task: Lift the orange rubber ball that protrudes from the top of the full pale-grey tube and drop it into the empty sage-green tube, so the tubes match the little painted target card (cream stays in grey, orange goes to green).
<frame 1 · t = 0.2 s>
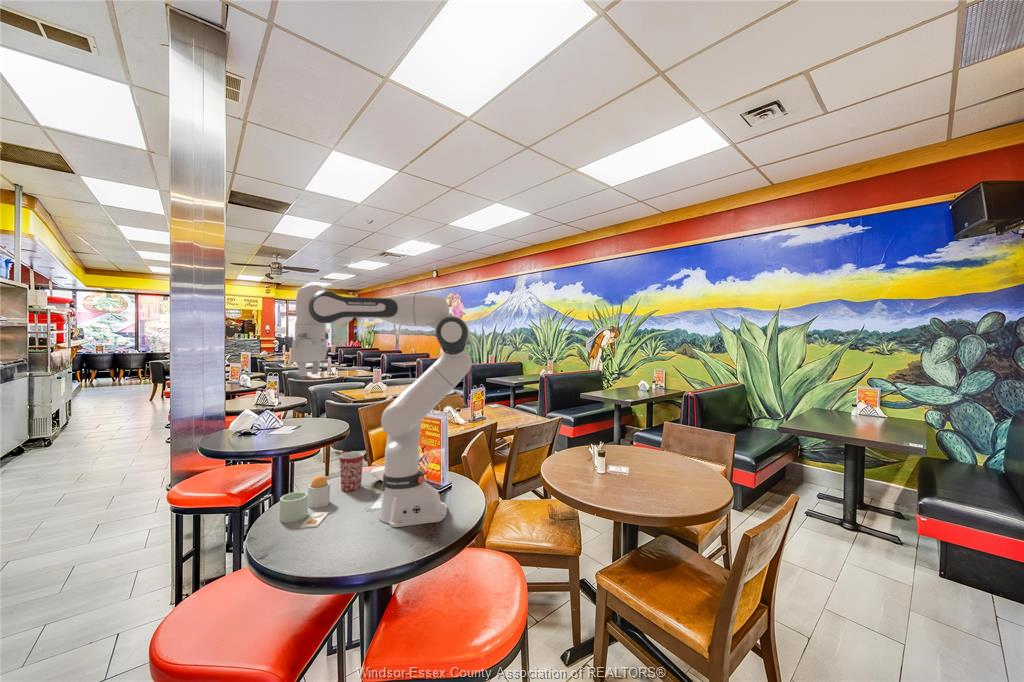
hand: (309, 375, 123), 47 cm above the table, fingers open, 8 cm apart
ball orange: (319, 490, 133), point 5 cm above the table, touching tube grey
tube green: (293, 517, 122), on the table
tube grey: (318, 503, 133), on the table
mug: (353, 487, 149), on the table
target card: (315, 520, 120), on the table
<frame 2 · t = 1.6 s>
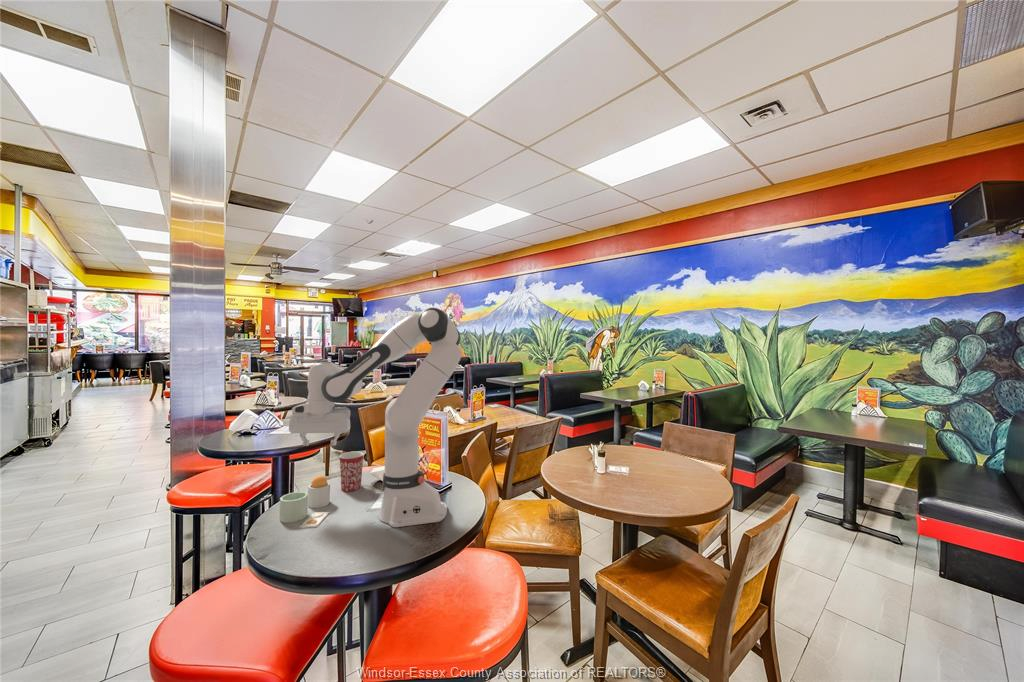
hand: (319, 445, 133), 21 cm above the table, fingers open, 8 cm apart
nothing on the table moved.
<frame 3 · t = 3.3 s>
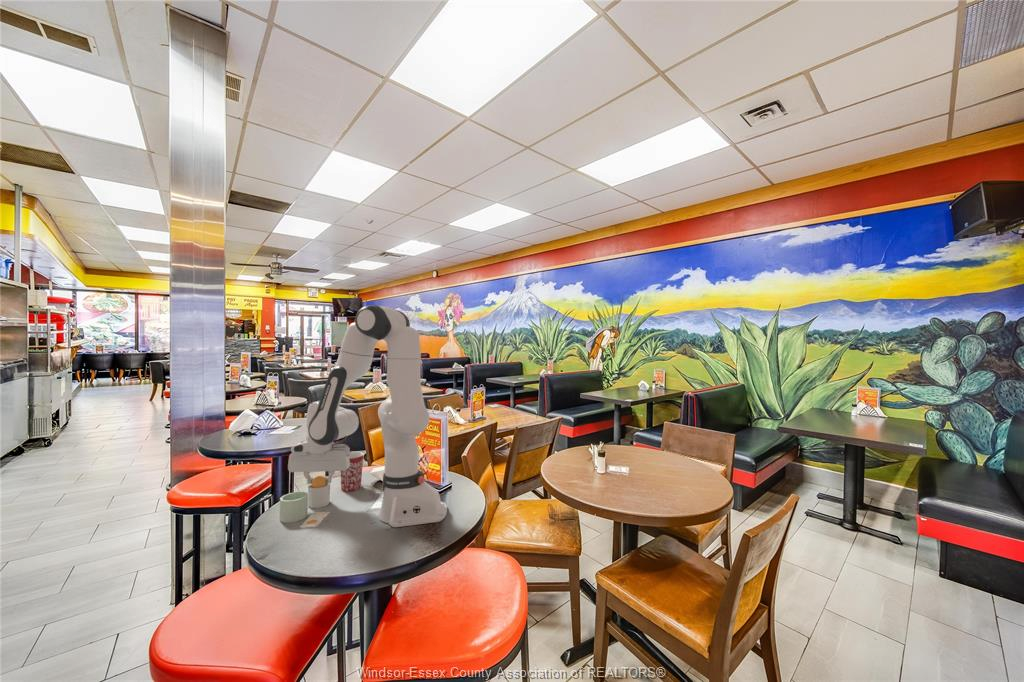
hand: (319, 483, 133), 7 cm above the table, fingers closed on ball orange, 5 cm apart
ball orange: (319, 490, 133), point 5 cm above the table, touching gripper, tube grey
everything else where it was.
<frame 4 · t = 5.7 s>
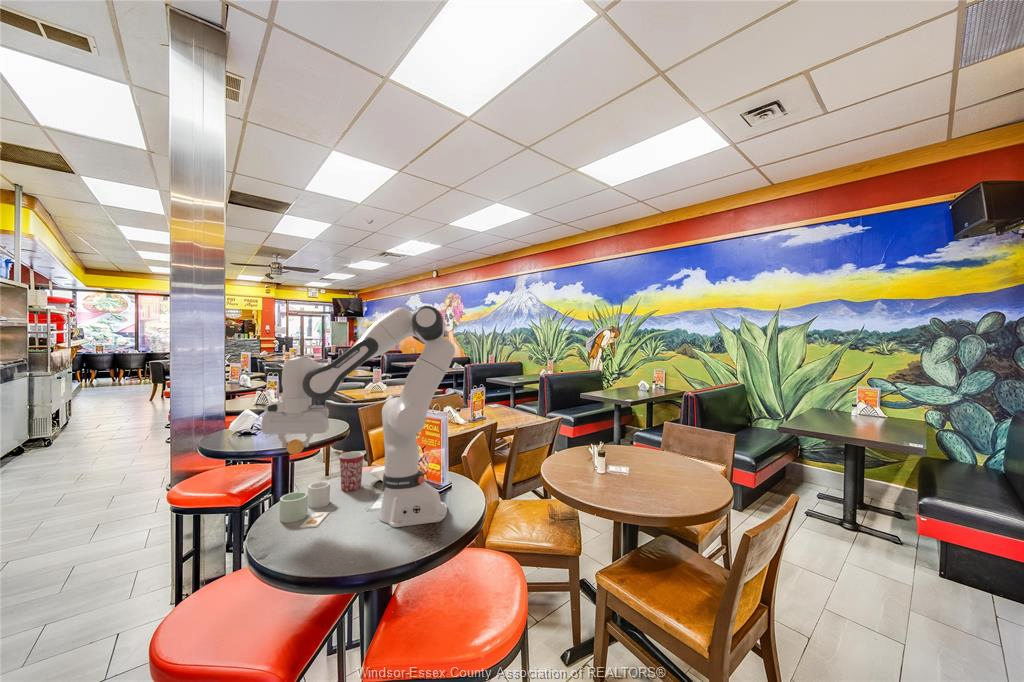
hand: (295, 446, 123), 23 cm above the table, fingers closed on ball orange, 5 cm apart
ball orange: (295, 454, 123), point 21 cm above the table, touching gripper
everything else where it was.
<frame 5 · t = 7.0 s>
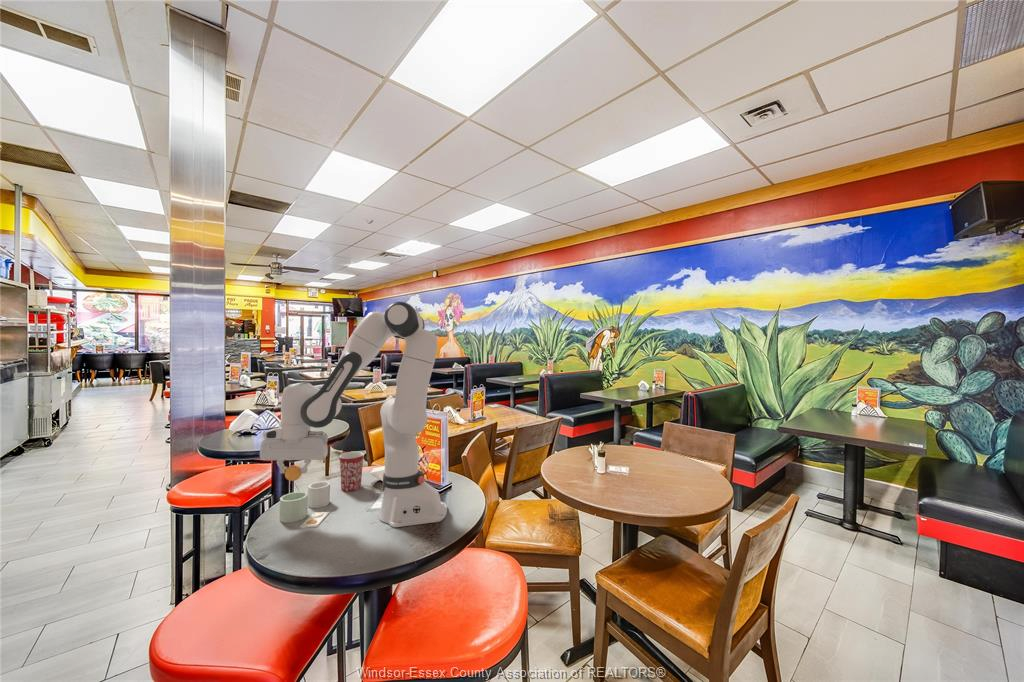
hand: (293, 472, 123), 15 cm above the table, fingers closed on ball orange, 5 cm apart
ball orange: (293, 480, 122), point 12 cm above the table, touching gripper
everything else where it was.
when the fingers open (10 cm above the table, at t = 8.1 s): ball orange drops 8 cm, resting in tube green.
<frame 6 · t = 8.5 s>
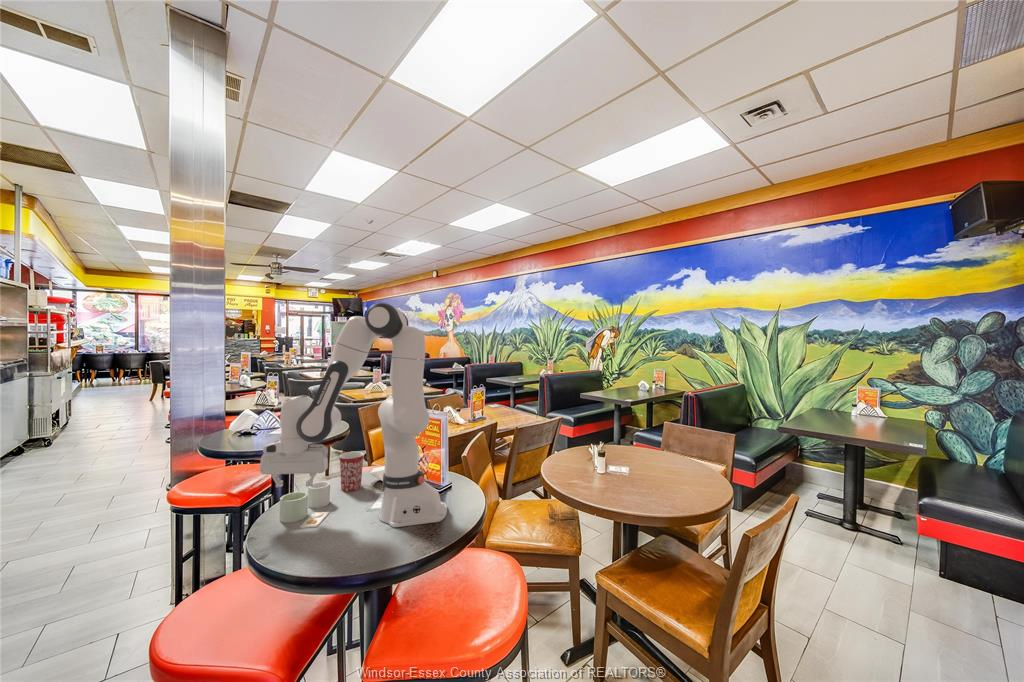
hand: (294, 486, 123), 10 cm above the table, fingers open, 8 cm apart
ball orange: (293, 517, 122), resting in tube green
everything else where it was.
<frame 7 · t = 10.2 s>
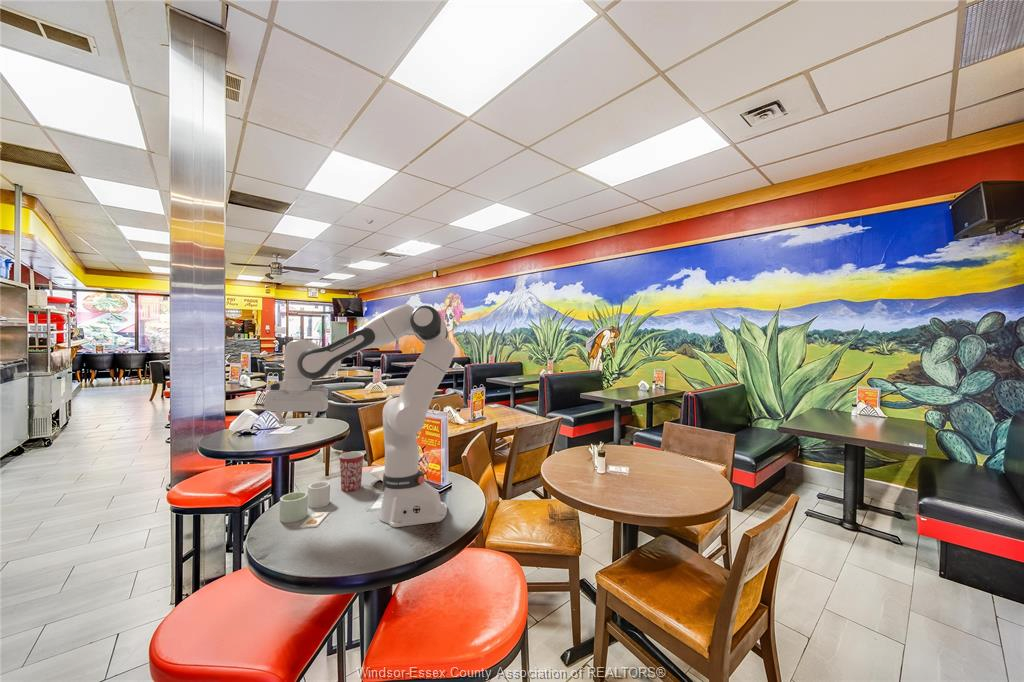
hand: (296, 423, 130), 29 cm above the table, fingers open, 8 cm apart
nothing on the table moved.
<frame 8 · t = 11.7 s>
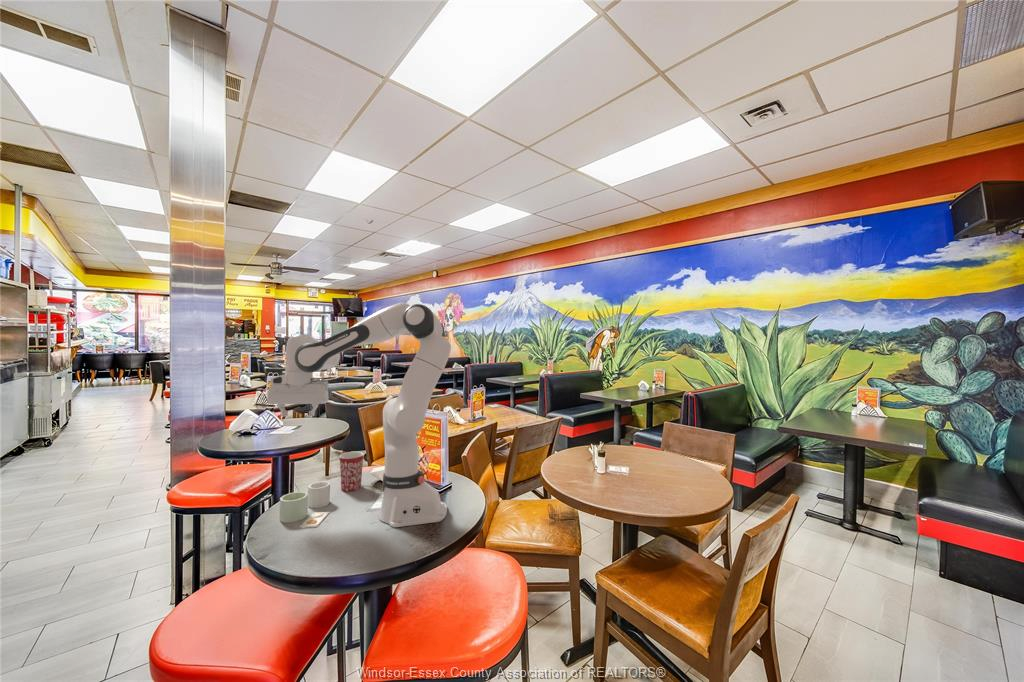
hand: (298, 416, 135), 31 cm above the table, fingers open, 8 cm apart
nothing on the table moved.
at the end: ball orange 0.1 cm off-centre on the tube green, point 0.0 cm above the tube green's base; the gripper is holding nothing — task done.
